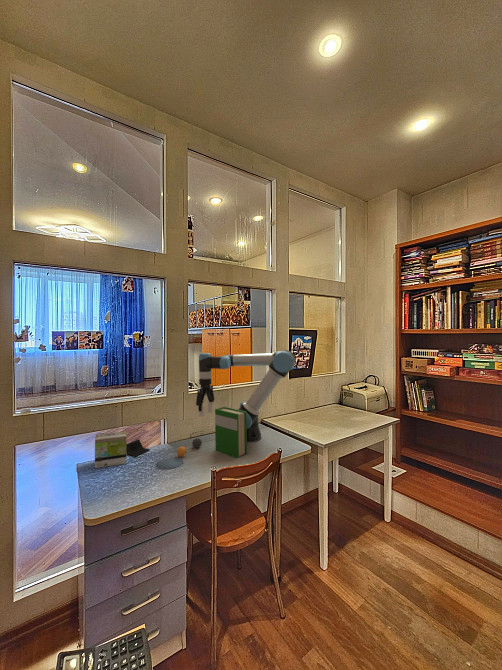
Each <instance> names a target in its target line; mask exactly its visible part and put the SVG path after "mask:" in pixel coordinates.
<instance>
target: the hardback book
mask: <svg viewBox="0 0 502 670" xmlns="http://www.w3.org/2000/svg"><path fill="white" fill-rule="evenodd" d="M214 412H215V413H214V416H215V417H214V421H215V422H214V426H215V432H214V433H215V435H214V437H215V441H214V442H215V451H216V452H219V453H221V454H224V455H226V456H229V457H232V458H235V459H237V460H238V459H239V458H240V457H241V456H243V455H244V456H246V455H248V446H247V445H248V442H247V417H246V411H242V410H238V409H235V408H232V407H227V406H222V407H218V408H215V409H214Z"/></svg>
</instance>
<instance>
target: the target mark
mask: <svg viewBox="0 0 502 670" xmlns="http://www.w3.org/2000/svg"><path fill="white" fill-rule="evenodd" d="M183 464H184V460H183V459H182V458H181V457H180V458H179V457H166V458H162V459H160V460H158V461H156V463H155V467H156V468H157V469H159V470H174V469H176V468H179V467H181V466H183Z"/></svg>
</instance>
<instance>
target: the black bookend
mask: <svg viewBox="0 0 502 670" xmlns="http://www.w3.org/2000/svg"><path fill="white" fill-rule="evenodd" d="M149 450H150V451H151V449H150V448H146V447H144V446H143V444H142V442H141V441H140V439H136V440H133V441H131V442H129V443H126V454H127V455H129V456H128V457H133V458H137V457H140V456H142V455H144V454H146V453H148V452H150V451H149Z"/></svg>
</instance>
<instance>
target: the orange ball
mask: <svg viewBox="0 0 502 670" xmlns="http://www.w3.org/2000/svg"><path fill="white" fill-rule="evenodd" d="M187 453H188V449H187V448H186V447H185V446H184V445H181V446H179V447H178V448H177V450H176V454H177V456H178V457H180V458H182V457H185V456H186V455H187Z"/></svg>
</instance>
